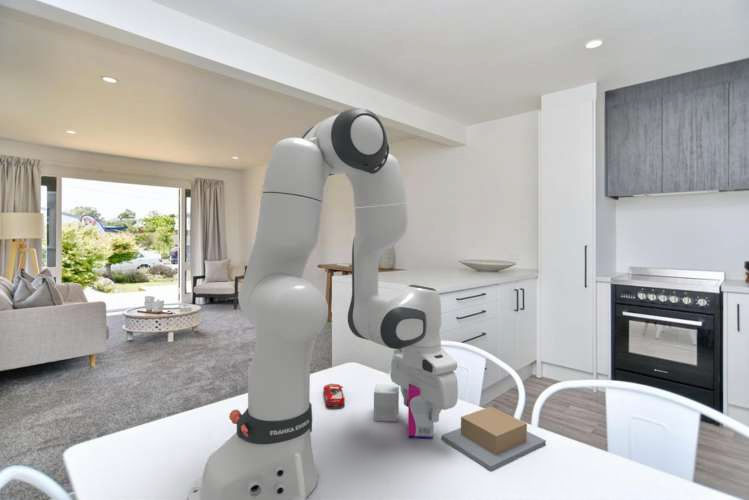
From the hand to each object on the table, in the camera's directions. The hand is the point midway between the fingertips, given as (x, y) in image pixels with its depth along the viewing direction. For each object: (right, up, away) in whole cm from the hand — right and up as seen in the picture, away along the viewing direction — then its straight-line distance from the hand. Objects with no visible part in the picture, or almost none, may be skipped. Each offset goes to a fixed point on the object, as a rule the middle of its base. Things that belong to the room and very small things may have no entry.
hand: (420, 413), depth 91 cm
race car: (-22, -4, +18) cm, 29 cm away
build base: (+16, -5, -4) cm, 17 cm away
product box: (-8, -5, +8) cm, 12 cm away
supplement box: (0, -5, 0) cm, 5 cm away
